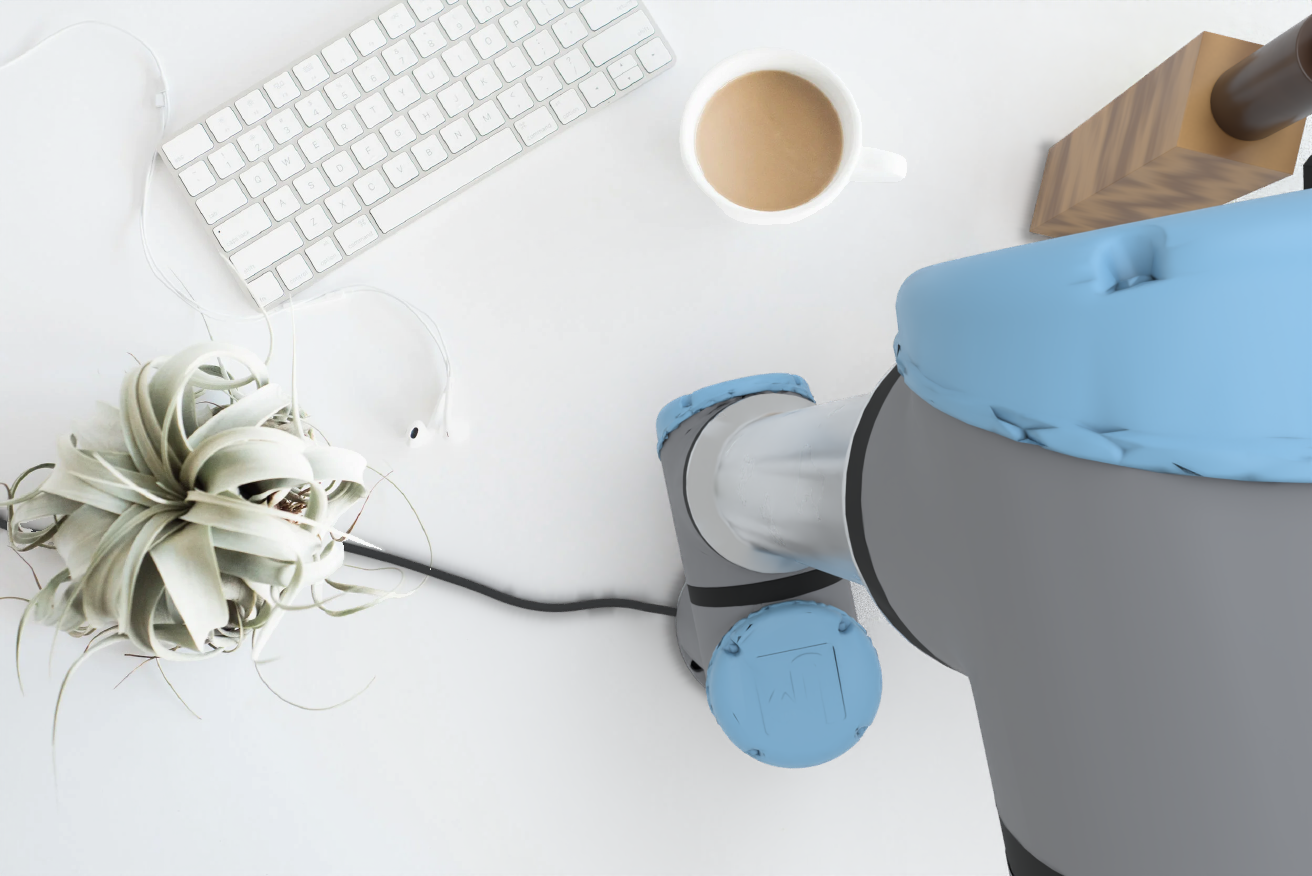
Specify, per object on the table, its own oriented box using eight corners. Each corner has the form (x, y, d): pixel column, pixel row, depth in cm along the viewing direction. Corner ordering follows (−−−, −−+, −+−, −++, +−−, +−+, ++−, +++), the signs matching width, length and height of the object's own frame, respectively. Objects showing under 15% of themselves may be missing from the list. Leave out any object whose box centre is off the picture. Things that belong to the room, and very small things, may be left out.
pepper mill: (1201, 131, 55) (1307, 69, 46) (1219, 55, 55) (1328, -21, 46) (1277, 149, 55) (1398, 91, 46) (1295, 73, 55) (1419, 1, 46)
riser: (1028, 231, 77) (1176, 146, 55) (1049, 148, 77) (1204, 30, 55) (1112, 252, 77) (1293, 174, 55) (1132, 168, 77) (1321, 58, 55)
